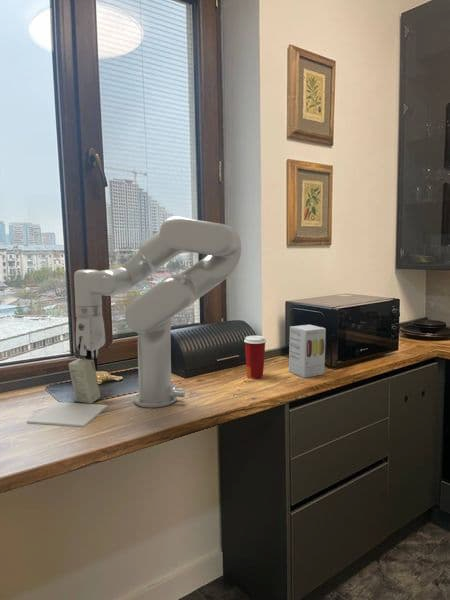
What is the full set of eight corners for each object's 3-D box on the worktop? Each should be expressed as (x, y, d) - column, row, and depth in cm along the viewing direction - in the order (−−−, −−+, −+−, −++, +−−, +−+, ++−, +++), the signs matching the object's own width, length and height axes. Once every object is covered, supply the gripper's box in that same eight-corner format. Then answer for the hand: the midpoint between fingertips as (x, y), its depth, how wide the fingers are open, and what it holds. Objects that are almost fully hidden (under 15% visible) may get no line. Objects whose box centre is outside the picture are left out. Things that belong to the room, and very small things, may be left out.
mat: (107, 406, 125) (107, 405, 125) (84, 426, 111) (84, 425, 111) (55, 403, 127) (55, 402, 127) (26, 422, 114) (26, 421, 114)
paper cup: (269, 375, 154) (270, 336, 152) (259, 381, 148) (259, 340, 146) (250, 372, 158) (250, 334, 156) (239, 377, 152) (239, 338, 150)
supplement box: (304, 378, 150) (305, 330, 148) (287, 371, 159) (288, 326, 156) (325, 374, 155) (326, 327, 153) (308, 368, 163) (309, 323, 161)
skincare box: (101, 397, 131) (95, 359, 127) (91, 404, 127) (84, 365, 123) (84, 394, 133) (78, 357, 130) (74, 401, 129) (67, 363, 126)
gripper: (88, 315, 122) (91, 379, 124) (111, 307, 136) (113, 364, 139) (63, 314, 123) (67, 377, 126) (89, 307, 138) (91, 363, 140)
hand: (91, 370), depth 132 cm, fingers closed
